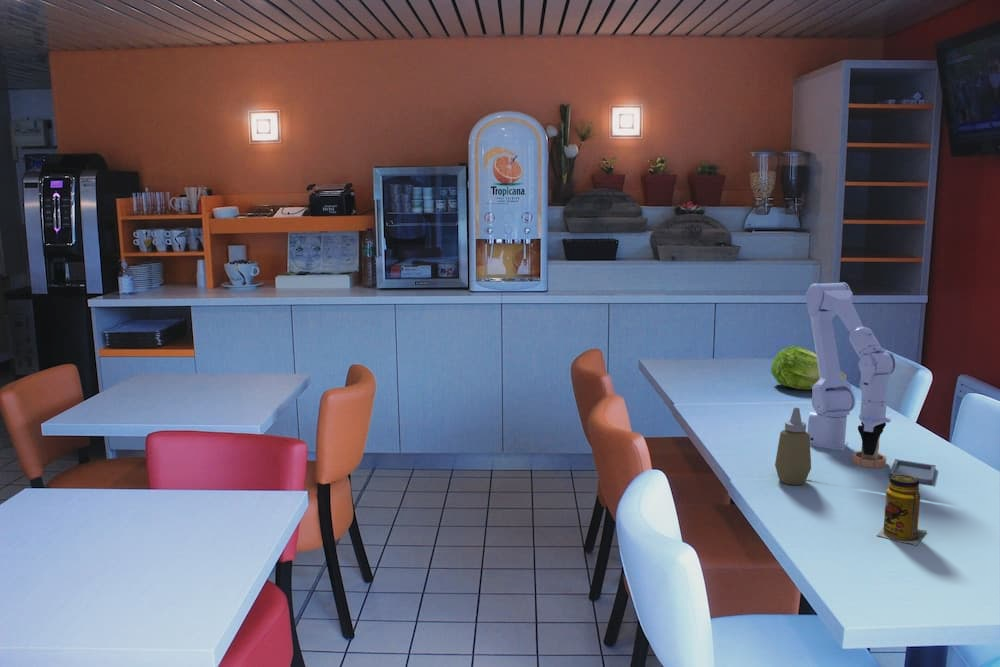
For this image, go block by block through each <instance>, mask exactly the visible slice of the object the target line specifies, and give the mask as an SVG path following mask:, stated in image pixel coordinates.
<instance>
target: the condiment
mask: <svg viewBox="0 0 1000 667" xmlns="http://www.w3.org/2000/svg"><path fill="white" fill-rule="evenodd" d="M919 485H920V483H919V480H918V479H916V478H914V477H912V476H908V475H892V476H891V477H890V478H889V482H888V488H887V489H886V494H885V506H884V519H883V520H884V521H883V527H882V528H881V530H880V531H879V532H878V533H877V534H876V536H877V537H882V538H886V539H888V540H893V541H896V542H901V543H906V544H909V545H910V544H911V545H915V546H917V545H918V544H919V543H920V541H921V540H922V539H923V537H924V535H925V534H926V533H927V531H928V530H927V529H920V528H919V527H918V526H919V517H920V506H921V505H920V502H921V494H920V491H919V490H920V488H919Z"/></svg>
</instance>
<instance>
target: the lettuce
mask: <svg viewBox="0 0 1000 667" xmlns="http://www.w3.org/2000/svg"><path fill="white" fill-rule="evenodd" d="M770 368H771V369H770V372H771V375H773V378H774V379H775V380H776V382H777V384H779V385H782V386H784V387H788V388H792V389H797V390H807V391H809V390H810V391H811V389H812V387H813V385H814V384H816V383H817V382H818V381H819V380H820V375H819V369H818V363H817V356H816V352H813V351H811V350H808V349H806V348H804V347H801V346H797V345H792V346H789V347H786V348H784V349H781V350H779V352H778V353H776V355H775V357H774V359H773V361H772V364H771V367H770ZM840 372H841V377H842V378H844V379H845V380H846V381H847V375H846V374H845V373H844V372H842V371H841V370H840Z"/></svg>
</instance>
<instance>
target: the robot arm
mask: <svg viewBox="0 0 1000 667" xmlns="http://www.w3.org/2000/svg"><path fill="white" fill-rule="evenodd" d="M805 300H806V306H807V312H808V315H809V317H810V323H811V324H810V325H811V330H812V335H813V336H812V337H813V341H814V349H815V354H816V356H817V363H818V369H819V375H820V380H819V381H818V382H817V383H816V384H814V385H813V387H812V392H811V393H812V397H811V406H812V408H813V411H812V410H811V411H810V413H809V416H808V421H807V433H808V434H809V435H810V447H811V446H812V447H820V448H826V449H832V450H836V451H837V450H838V451H845V449H846V447H847V446H848V444H849V441H846V434H847V433H846V432H847V420H848V419H847V418H848V416H849V415H850V412H851V411H853V410H854V408H855V405H856V395H855V394H854V392H853V390H852V386H851V383H850V382H849V381H848V380H847V379H846V380H845V379H844V378H842V377H841V372H842V371H841V368H840V360H839V356H838V348H837V343H836V342H837V341H836V337H835V336H836V335H835V329H834V324H833V323H834V322H833V319H834V317H835V316H836V315H837V316H838V317H839V319H840V321H841V322H842V323H843V325H845V328H846V329H847V330H848V332H849V336H848V340H849V342H850V344H851V346H852V348H853V350H854V351H855V352H856V355H857V356H858V359H859V361H858V369H859V371H860V379H861V382H862V389H861V402H860V414H859V416H858V419H859V420H860V423H861V425H858V426H857V430H858V433H859V435H860V438H861V445H862V444H863V451H864V454H866V455H874V452H875V449H876V445H877V441H878V439H879V436H880V437H881V435H882V434H883V432H884V429H885V427H886V426H887V423H888V424H889V423H891V420H892V419H891V417H887V403H888V393H889V392H888V389H889V380H890V379H889V378H890V375H891V374H893V373H894V371H895V370H896V365H897V364H896V359H895V357H894V354H893V353H892V352H891V351H889V350H886V348H883V347H882V345H881V344H880V342H879V341H878V339H877V337H876V336H875V334H874V332H873V330H872V329H871V328H870V327H865V326H864V325H863V323H862V321H861V320H862V319H860V316H859V314H858V312H857V310H856V309H855V306H854V303H853V302H852V301H853V291H852V289H851V287H850V286H849V285H848V283H847V282H844V281H842V282H830V283H829V282H828V283H826V282H825V283H817V282H816V283H815V282H814V283H811V284H810V286H809V287H808V289H807V291H806V292H805ZM840 371H841V372H840ZM879 440H880V439H879Z"/></svg>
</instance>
